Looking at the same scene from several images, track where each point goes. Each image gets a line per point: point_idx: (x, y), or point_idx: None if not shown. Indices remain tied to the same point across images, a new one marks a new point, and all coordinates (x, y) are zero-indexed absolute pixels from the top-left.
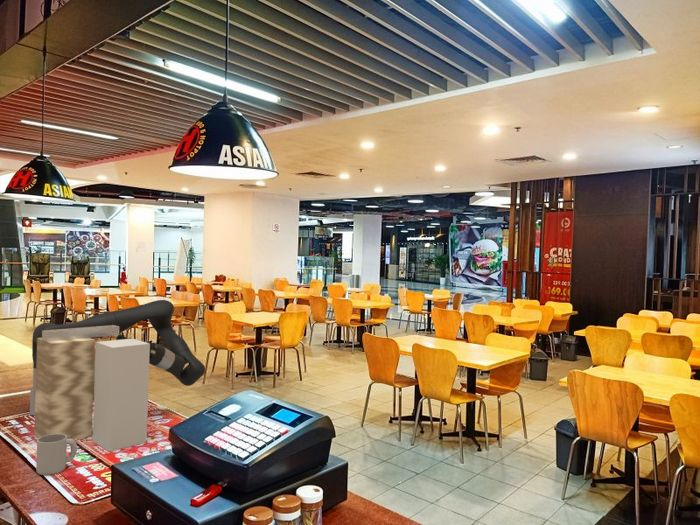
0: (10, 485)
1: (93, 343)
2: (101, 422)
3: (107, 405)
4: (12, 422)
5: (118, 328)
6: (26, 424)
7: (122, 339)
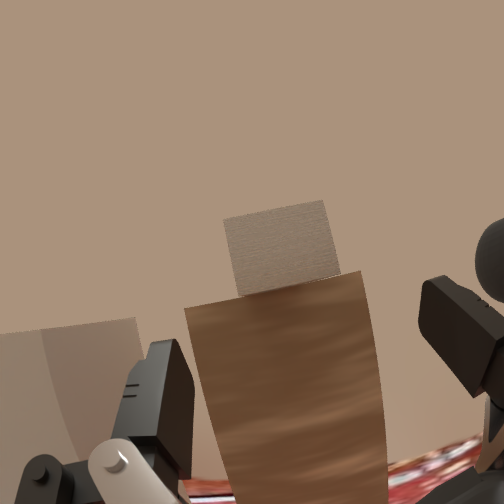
0: None
1: (188, 324)
2: None
3: None
4: (459, 448)
5: (227, 237)
6: (441, 469)
7: (452, 339)
